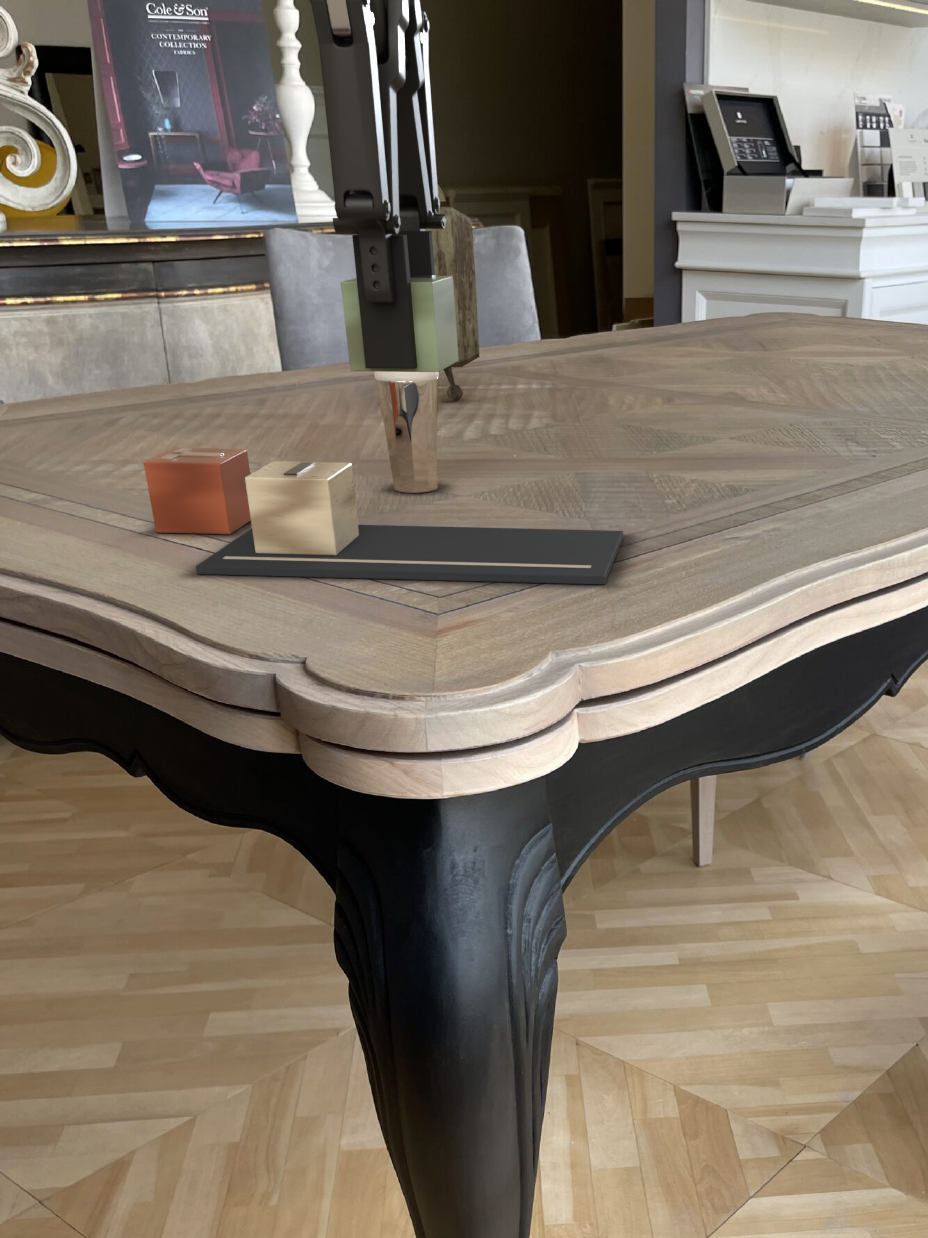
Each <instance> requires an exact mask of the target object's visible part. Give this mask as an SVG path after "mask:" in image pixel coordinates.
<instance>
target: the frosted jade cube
mask: <svg viewBox="0 0 928 1238" xmlns="http://www.w3.org/2000/svg"><path fill="white" fill-rule="evenodd" d="M410 281H411V282H410V284H411V296H412V308H413V320H414V332H415V344H416V356H417V368H415V369H390V368H366V367H365V357H364V347H363V337H362V327H361V317H360V307H359V298H358V288H357V278H356V277H355V278H351V279H347V280H343V281H342V280H341V281H340V288H341V297H342V298H341V299H342V306H343V307H342V308H343V317H344V326H345V334H346V343H347V344H346V345H347V350H348V351H347V353H348V361H349V370H350V372H375V371H378V372H439V373H440V372H441V371H444V369H445V368H447V367H448V366H450V365H452V364H454V363H455V362H457V361H459V357H458V343H457V330H456V316H455V302H454V288H453V276H435V275H410Z"/></svg>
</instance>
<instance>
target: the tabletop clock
mask: <svg viewBox="0 0 928 1238" xmlns="http://www.w3.org/2000/svg"><path fill="white" fill-rule="evenodd" d="M437 185H438V199H439V200H440V202H446V201H447V200H446V197H445V194H444V192H443V190H442V188H441V187H440V185H439V184H438V183H437ZM439 209H440V210H439V213H438V214H446V227H445V229H425V231H432V241H433V254H434V267H435V276H453V288H454V302H455V316H456V330H457V343H458V357H459V361H457V362H455V363H454V364H452V365H450V366H448V367H447V368H445V369H443V372H444V374H445V377H446V379H447V381H448V384H449V386H448V388H447V391H446V394H447V396H448V398H449V399H450V400H451V401H454V402H459V401H460V400H461V399H463V396H464V390H463V388H462V387H461V386H460V385H459V384H456V381H455V378H454V372H453V369H452V368H463V367H465V366H467V365H468V364H470V363H471V362H473V361H475V360H476V359H479V358H480V337H479V335H480V334H479V317H478V299H477V282H476V266H475V263H476V262H475V249H474V248H475V247H474V233H473V231H474V230H473V223H472V219H471V217H469V216H467V215H466V214H464V213H462V212H460V211H459V210H457V209H455V208H454V207H453V206H440V208H439Z"/></svg>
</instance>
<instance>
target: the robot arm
mask: <svg viewBox="0 0 928 1238" xmlns="http://www.w3.org/2000/svg"><path fill="white" fill-rule="evenodd" d="M420 1H421V0H309V2H310V5H311V10H312V15H313V21H314V25H315V31H316V37H317V42H318V48H319V58H320V69H321V79H322V88H323V98H324V108H325V117H326V118H325V119H326V127H327V136H328V137H327V138H328V146H329V147H328V148H329V156H330V166H331V176H332V186H333V187H332V188H333V195H334V211H335V215H336V217H332V224H333V225H332V226H333V230H334V232H335V234H336V235H337V234H341V235H346V234H347V235H351V237H352V247H353V256H354V267H355V276H356V277H355V278H357V288H358V298H359V307H360V317H361V327H362V337H363V347H364V357H365V367H366V368H390V369H415V368H417V356H416V344H415V332H414V320H413V308H412V296H411V284H410V282H411V281H410V275H435V267H434V254H433V241H432V231H425V229H445V227H446V214H438V213H439V210H440V209H439V208H440V207H441V201H440V200H439V199H438V185H439V184H438V175H437V174H438V173H437V172H438V171H437V159H436V158H437V157H436V147H435V145H436V144H435V131H434V120H433V119H434V118H433V106H432V94H431V93H432V92H431V79H430V66H429V65H430V63H429V31H430V21H429V19H428V15H427V13H426V11H422V9H421V2H420ZM437 184H438V185H437Z"/></svg>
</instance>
